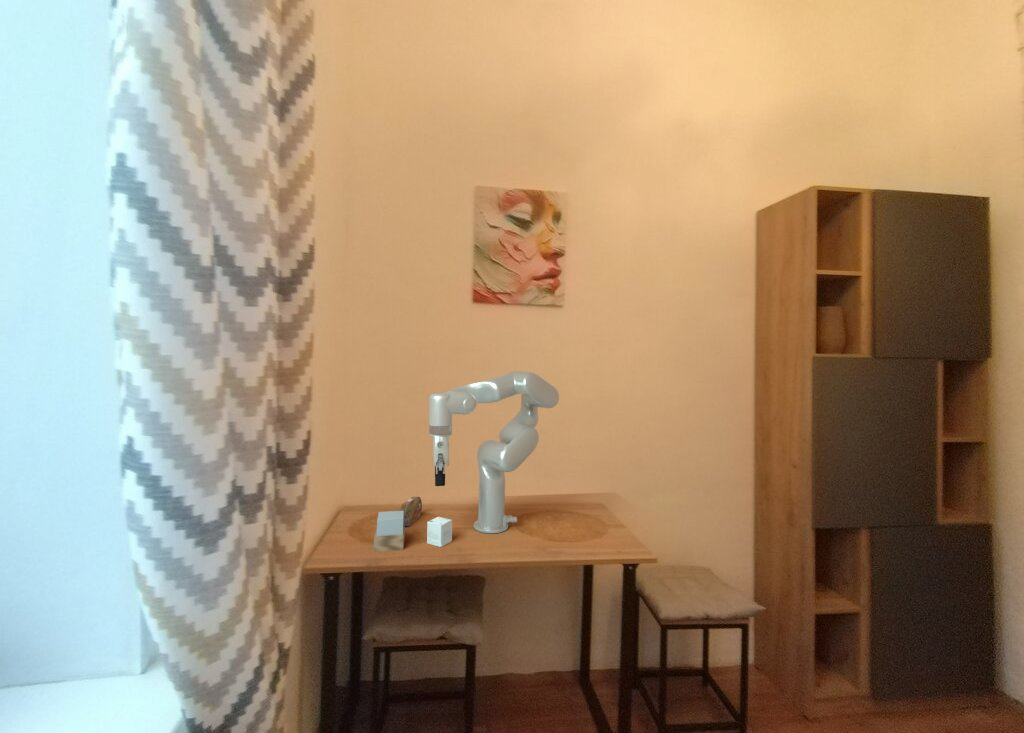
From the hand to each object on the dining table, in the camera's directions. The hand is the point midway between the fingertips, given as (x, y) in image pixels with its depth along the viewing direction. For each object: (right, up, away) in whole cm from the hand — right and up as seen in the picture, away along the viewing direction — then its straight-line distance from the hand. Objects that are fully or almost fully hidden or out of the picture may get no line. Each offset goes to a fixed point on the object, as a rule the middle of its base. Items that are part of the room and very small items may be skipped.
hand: (439, 481), depth 148 cm
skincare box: (0, -21, 0) cm, 21 cm away
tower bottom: (-16, -20, -3) cm, 26 cm away
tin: (-14, -20, +18) cm, 30 cm away
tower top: (-16, -15, -3) cm, 22 cm away
